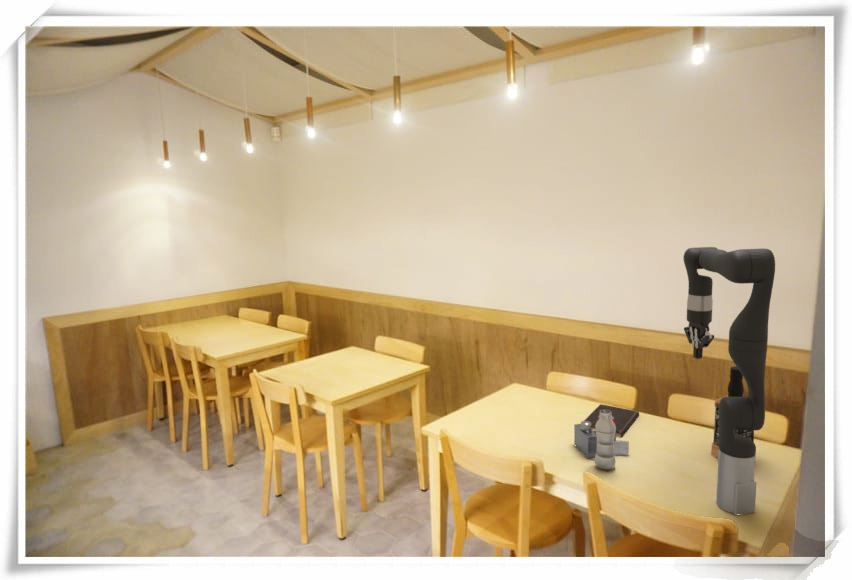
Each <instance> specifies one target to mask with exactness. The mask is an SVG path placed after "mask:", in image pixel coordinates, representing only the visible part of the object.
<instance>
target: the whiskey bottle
mask: <svg viewBox="0 0 852 580" xmlns="http://www.w3.org/2000/svg"><path fill="white" fill-rule="evenodd" d="M729 371H730V372H729V373H730V374H729V382H728V385H727V394H726V395H724V396H721V397H719V398H716V399H714V407H715V408H714V409H715V411H714V426H713V441H712V443H711V447H710V448H711V449H710V455H711V456H713V457H715V458H717V459H718V455H719V403H720V400H721V399H722V398H723V397H744V392H745V388H744V383H743V380H744V379H743V378H744V377H743V375H742V373H741V372H740V370H739V369H738V368H737V366H731V367H730V370H729ZM735 433H736V434H738V435H740V436H743V437H746V438H748V439H750V440H751V441H753V442H754V440H755V439H754V438H755V430H735ZM754 443H755V442H754Z"/></svg>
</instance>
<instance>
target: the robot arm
mask: <svg viewBox="0 0 852 580" xmlns="http://www.w3.org/2000/svg"><path fill="white" fill-rule="evenodd" d="M683 263H684V267H685V271H686V274H687V279H688V280H687V281H688V294H687V300H686V301H687V302H686V322H688V326H685V327H684V328H683V331H684V333H685V335H686V338H687V342H688V343H689V344H691V346H692V349H693V350H692V353H693V354H692V355H693V356H692V357H693V358H694V359H697V360H698V359H702V358H703V352H704V350H703V349H704V348H708V346H710V344H711V343H712V341H713V340H714V339H715V335H714V334H711V333H710V323H711V322H712V320H713V305H714V304H713V303H714V301H713V300H714V299H713V286H714V285H713V283H714V282H713V278H712V277H710V276H709V275H702V274H699V272H698V270H705V271H707V272H712V273H716V274H719V275H720V276H722V277H723V278H724V279H726V280H727V281H729V282H731V283H734V284H739V285H740V284H743V285H744V284H753V285H752V289H751V293H750V297H749V299H748V301H747V302H746V304H745V306H744V307H743V308H742V310H740V312H739V314H737V316H736V317H735V318H734V320H733V322H732V323H731V325H730V327H729V330H728V346H727V347H728V354H729V356H730V359H731V360H732V362H733V363H734V366H735V367H737V368H738V369H739V370H740V372H741V373H742V375H743V378H744V379H743V380H744V381H745V383H746V385H747V391H748V392H747V396H743V397H723V396H722V397H723V398H722V399H721V400H720V403H719V455H718V458H717V475H716V477H717V479H716V499H715V501H716V505H717V506H718V507H719V508H720V509H721V510H723V511H725V512H728V513H730V512H731V514H733V513H734V514H735V515H734V514H733V515H734V516H738V515H737V514H742V515H745V514H744V513H748V514H751V513H750V512H754V513H755V512H756V501H757V500H756V496H757V484H758V483H757V481H755V469H756V467H755V466H756V457H757V456H756V455H757V446H756V443H755V442H753V441H751V440H750V439H748V438H746V437H743V436H740V435H738V434H736V433H735V430H754V431H759V430H762V429H763V426H764V425H765V421H766V398H765V397H766V395H765V393H766V392H765V391H766V390H765V387H766V386H765V376H766V366H767V365H766V363H767V361H766V360H767V353H768V343H769V342H768V339H769V318H770V317H769V316H770V305H771V298H772V292H773V286H774V281H775V275H776V258H775V255H774V253H773V251H772V250H771V249H769V248H745V249H743V248H742V249H741V248H740V249H735V250H731V251H726V250H725V249H719V248H718V247H715V246H714V247H713V246H706V247H705V246H703V247H690V248H687V249H686V250H685V251H684V254H683Z"/></svg>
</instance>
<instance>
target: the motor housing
mask: <svg viewBox="0 0 852 580" xmlns="http://www.w3.org/2000/svg"><path fill="white" fill-rule="evenodd" d="M573 440H574V444H575V445H576V446H575V445H574V446H575V447H576V448H577V449H578V450H579V451H580V452H581V453H582V455H584V457H585V458H586V457H587V458H588V459H587V458H586V459H587V460H590V459H595V455H596V449H597V435H596V430H592V423H591V422H590V421H584V420H582V421H581V422H580V423H576V424H574V439H573ZM629 448H630V441H629V440H621V439H618V440H617V439H616V441H614V455H615V456H619V455H620V456H629V454H630V453H629V451H630V449H629Z"/></svg>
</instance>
